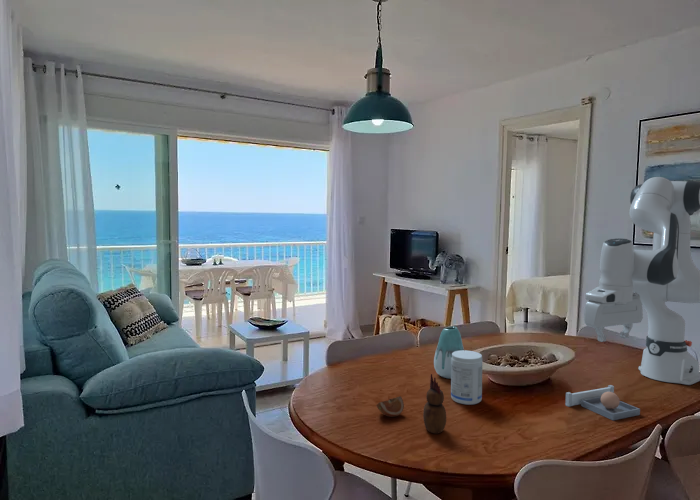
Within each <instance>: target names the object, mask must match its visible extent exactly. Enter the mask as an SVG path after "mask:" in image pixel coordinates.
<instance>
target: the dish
mask: <svg viewBox="0 0 700 500" xmlns="http://www.w3.org/2000/svg"><path fill="white" fill-rule="evenodd" d="M580 406H581V407H583V408H584V409H587V410H588V411H591V412H593V413H595V414H598V415H600V416H602V417H604V418H607V419H609V420H611V421H618V420H621V419H622V420H623V419H627V418H631V417H635V416H640V415H641V408H638V407H636V406H634V405H631V404H629V403H626V402H624V401H621V400H620V403H619V406H618V407H617V408H615V409H608V408H606V407H604V406H603V404H602V403H601V397H596V398H591V399H585V400H581V404H580Z"/></svg>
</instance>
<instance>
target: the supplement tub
mask: <svg viewBox="0 0 700 500" xmlns="http://www.w3.org/2000/svg"><path fill="white" fill-rule="evenodd" d="M450 397H451V399H452V401H454V402H455V403H458V404H461V405H465V406H466V405H467V406H468V405H469V406H470V405H471V406H472V405H477V404H479V403H480V402H482V399H483V355H482V354H481V353H480V352H477V351H473V350H466V349H464V350H460V351H455V352H453V353H452V358H451V379H450Z"/></svg>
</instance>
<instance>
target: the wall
mask: <svg viewBox="0 0 700 500" xmlns="http://www.w3.org/2000/svg"><path fill="white" fill-rule="evenodd" d="M605 392H613V393H615V386H614V385H612V384H609V385H607V386H606V387H601V388H597V389H595V388H594V389H591V390H590V389H589V390H584V391H578V392H573V393H571V392H570V391H568V392H565V406H566V407H573V406H578V405H581V400H585V399H591V398H596V397H601V396H602V394H603V393H605Z"/></svg>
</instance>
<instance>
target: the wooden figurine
mask: <svg viewBox="0 0 700 500" xmlns="http://www.w3.org/2000/svg"><path fill="white" fill-rule="evenodd" d="M429 382H430V383H429V389H428V390H427V392H426V397H425V398H426V402H425V404H424V406H423V415H422V416H423V418H422V419H423V422H424V427H425V429H426V430H427V431H428V432H429V433H431V434H440V433H442V432H443V431H444V430H445V427H446V425H447V411H446V407H445V405H444V404H443V403H444V401H445V395H444V392H443V391H442V390H441V386H440V385H439V382H437V381H436V377H433V374H432V373H430V380H429Z"/></svg>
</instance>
